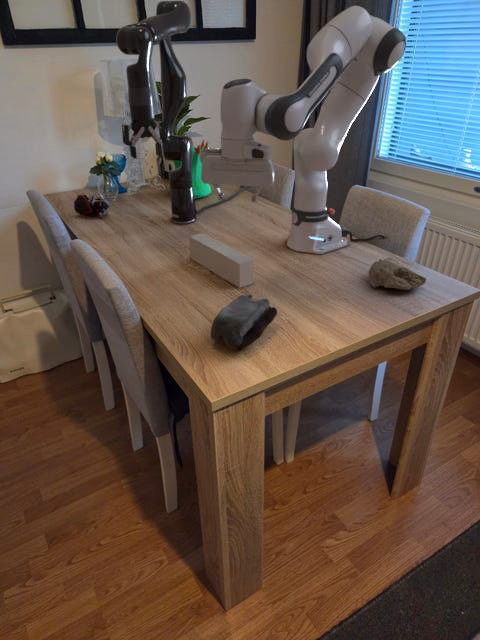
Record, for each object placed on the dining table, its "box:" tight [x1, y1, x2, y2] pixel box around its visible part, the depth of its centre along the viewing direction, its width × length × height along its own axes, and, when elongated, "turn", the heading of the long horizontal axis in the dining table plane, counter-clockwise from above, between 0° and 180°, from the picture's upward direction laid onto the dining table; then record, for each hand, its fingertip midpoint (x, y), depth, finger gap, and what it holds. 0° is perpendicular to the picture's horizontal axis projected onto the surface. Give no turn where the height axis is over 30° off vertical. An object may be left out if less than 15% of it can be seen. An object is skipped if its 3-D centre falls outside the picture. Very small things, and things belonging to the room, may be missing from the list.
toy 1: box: [73, 194, 111, 220], centre depth 187 cm, size 12×9×15 cm
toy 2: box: [168, 137, 212, 200], centre depth 210 cm, size 20×20×25 cm
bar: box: [188, 232, 254, 289], centre depth 142 cm, size 28×5×8 cm, turn 38°
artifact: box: [368, 257, 427, 291], centre depth 135 cm, size 18×8×15 cm
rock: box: [210, 294, 278, 352], centre depth 109 cm, size 18×11×8 cm, turn 152°
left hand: (146, 156), depth 148 cm, fingers open, 8 cm apart
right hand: (237, 200), depth 125 cm, fingers open, 8 cm apart
